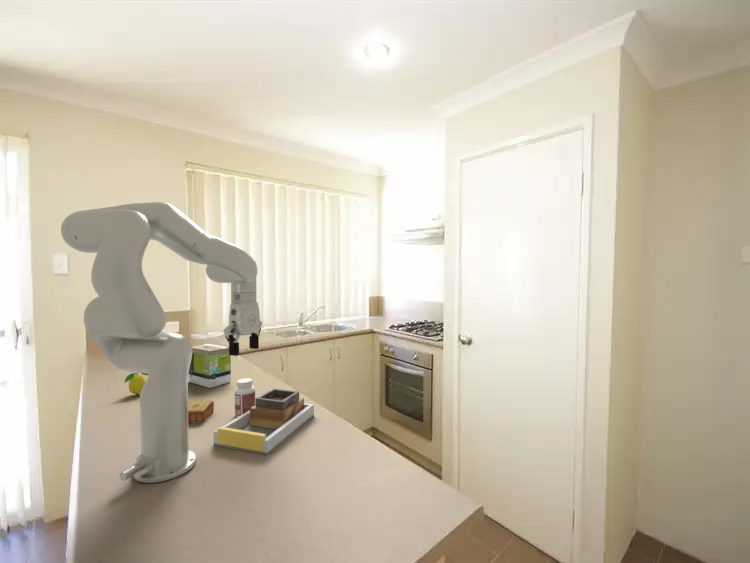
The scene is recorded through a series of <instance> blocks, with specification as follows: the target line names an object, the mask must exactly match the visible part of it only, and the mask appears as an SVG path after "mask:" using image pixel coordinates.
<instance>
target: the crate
mask: <svg viewBox="0 0 750 563" xmlns="http://www.w3.org/2000/svg"><path fill="white" fill-rule="evenodd" d="M304 403H305V398H304V397H300V391H298V390H287V389H280V388H272V389H270V390H269V391H267V392H265V393H263V394H261V395H259V396H258V397H255V406H253V407H251V408H250V425H252V426H258V427H265V428H271V429H278V428H280V427H281V426H282V425H284V424H285V423H286V422H288V421H289V420H290V419H292V418H293V417H294V416H295V415H297V414H298V413H299V412H301V411H302V410H303V409H304Z"/></svg>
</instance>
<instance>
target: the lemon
mask: <svg viewBox="0 0 750 563" xmlns="http://www.w3.org/2000/svg"><path fill="white" fill-rule="evenodd" d="M141 374H142V375H141ZM141 374H140V373H138V372H132V373H130V374H128V375H127V376H126V377H125V379H124V382H123V383H128V391H129V393H132V394H135V396H138V395H141V391H142V388H143V386H144V384H145V382H146V381H147V379H146V378H145V376H148V374H146V373H141Z"/></svg>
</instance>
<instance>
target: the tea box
mask: <svg viewBox="0 0 750 563" xmlns="http://www.w3.org/2000/svg"><path fill="white" fill-rule="evenodd" d="M231 356H232V355H229V346H226V345H220V344H214V343H204V344H201V345H195V346H194V345H192V359H191V363H190V368H189V375H188V383H192V384H194V385H198V386H202V387H205V388H208V389H211V388H216V387H219V386H222V384H223V385H226V384H229V383H231V382H232V371H231V369H232V366H231V365H232V361H231V359H232V358H231Z"/></svg>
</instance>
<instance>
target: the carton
mask: <svg viewBox="0 0 750 563" xmlns="http://www.w3.org/2000/svg"><path fill="white" fill-rule="evenodd" d="M214 406H215V402H214V400H199V401H198V400H195V401H188V424H193V423H192V422H204V423H205V422H206V421H207V420H208V419H209V418H210V417H211V416H210V415H213V413H214V412H213V411H215V410H214V409H215V407H214ZM209 416H210V417H209ZM208 417H209V418H208ZM207 418H208V419H207ZM206 419H207V420H206ZM205 420H206V421H205Z"/></svg>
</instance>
